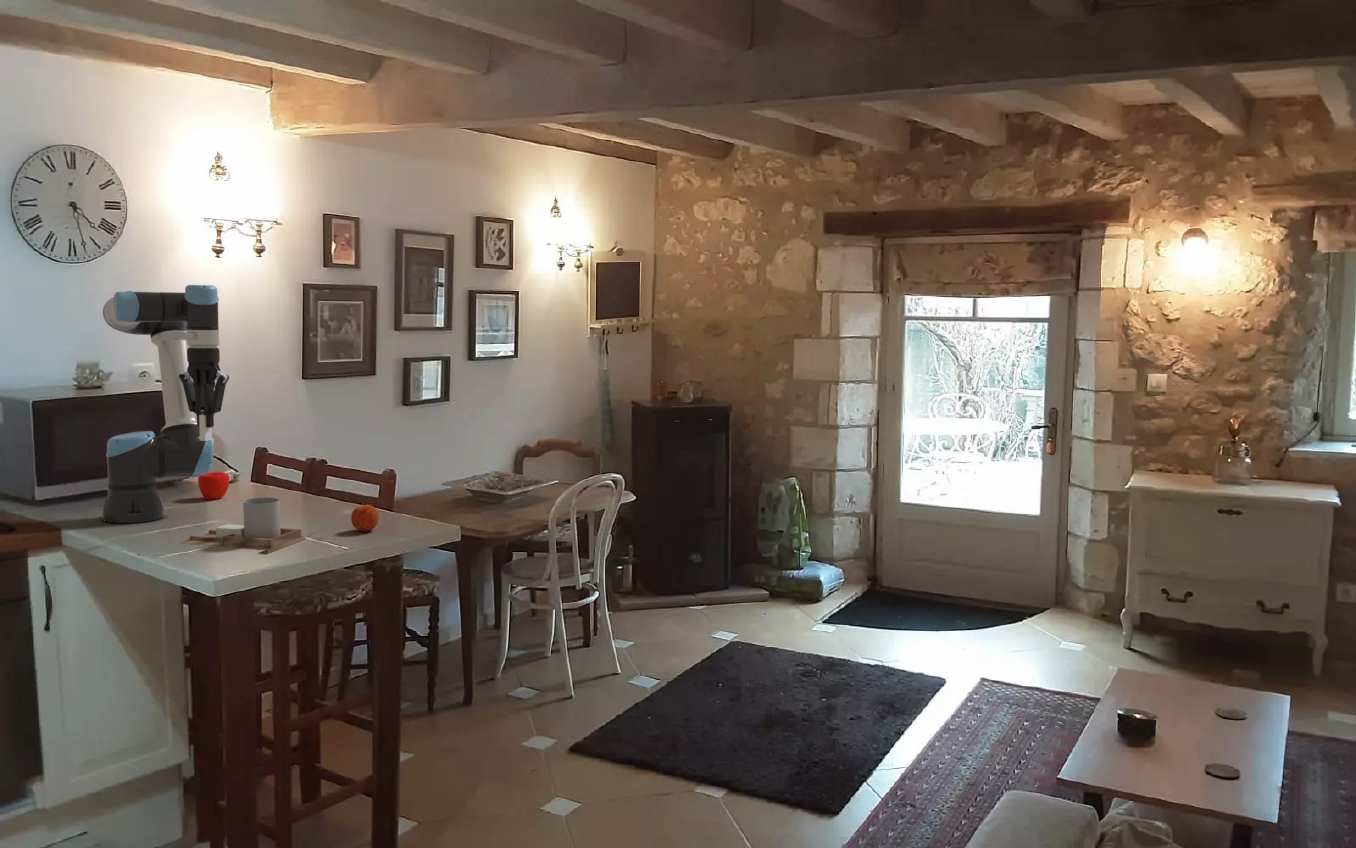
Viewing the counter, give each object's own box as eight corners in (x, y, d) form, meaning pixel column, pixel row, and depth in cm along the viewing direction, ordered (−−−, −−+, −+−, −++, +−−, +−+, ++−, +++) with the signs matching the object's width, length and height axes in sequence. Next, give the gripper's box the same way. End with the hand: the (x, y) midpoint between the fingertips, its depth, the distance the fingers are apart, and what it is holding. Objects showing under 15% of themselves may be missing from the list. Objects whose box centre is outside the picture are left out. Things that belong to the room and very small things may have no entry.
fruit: (350, 529, 287) (349, 499, 286) (377, 527, 290) (376, 498, 289) (352, 534, 281) (352, 504, 280) (380, 533, 283) (379, 502, 283)
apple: (222, 501, 322) (221, 475, 321) (192, 501, 322) (192, 475, 321) (235, 496, 331) (234, 470, 330) (206, 495, 331) (205, 470, 330)
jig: (179, 547, 263) (178, 535, 263) (220, 533, 279) (220, 522, 279) (267, 553, 258) (267, 541, 258) (304, 539, 274) (304, 528, 273)
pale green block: (216, 539, 268) (215, 527, 267) (227, 536, 272) (227, 524, 272) (241, 541, 266) (241, 529, 266) (252, 537, 270) (252, 526, 270)
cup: (257, 546, 262) (256, 505, 261) (237, 541, 266) (236, 501, 265) (287, 540, 269) (286, 500, 268) (267, 535, 273) (266, 496, 272)
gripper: (170, 346, 270) (173, 440, 272) (216, 348, 267) (219, 443, 270) (190, 345, 277) (193, 437, 280) (235, 347, 274) (237, 439, 277)
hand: (205, 440), depth 275 cm, fingers closed
